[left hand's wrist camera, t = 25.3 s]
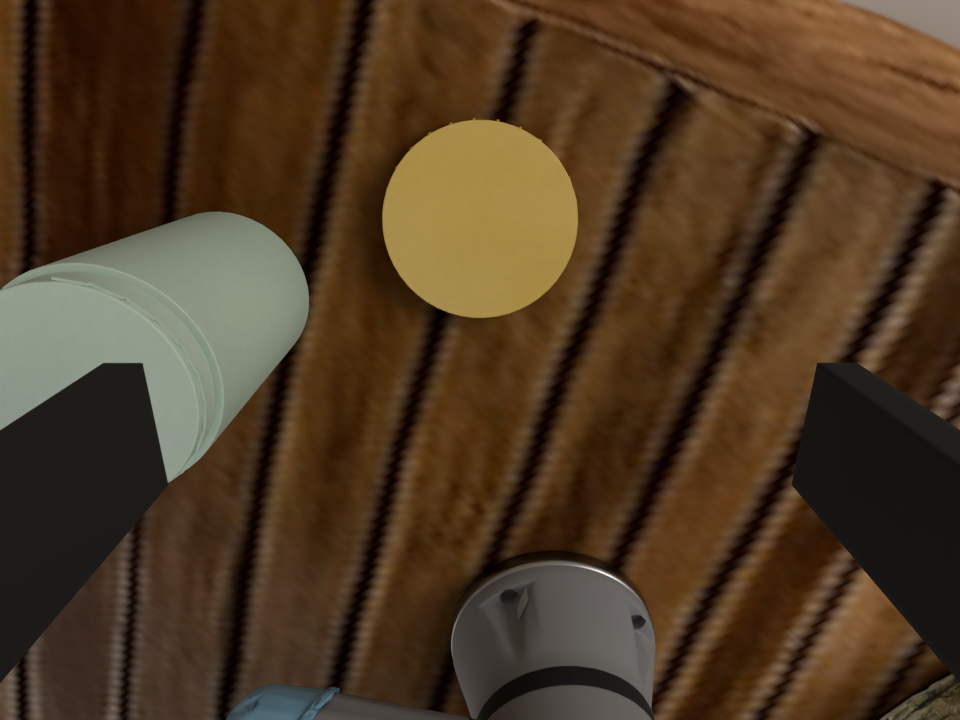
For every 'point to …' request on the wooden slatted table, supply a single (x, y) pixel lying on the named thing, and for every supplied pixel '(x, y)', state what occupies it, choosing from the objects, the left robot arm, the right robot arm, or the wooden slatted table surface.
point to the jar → (159, 324)
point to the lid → (480, 218)
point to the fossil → (931, 703)
